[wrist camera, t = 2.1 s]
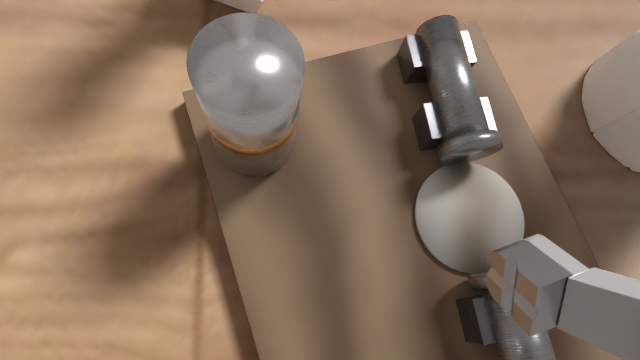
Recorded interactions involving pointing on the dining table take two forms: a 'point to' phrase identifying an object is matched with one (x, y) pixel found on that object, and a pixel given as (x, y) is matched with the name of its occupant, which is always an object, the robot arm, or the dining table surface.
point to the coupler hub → (248, 90)
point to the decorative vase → (616, 101)
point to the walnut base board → (382, 218)
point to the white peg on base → (244, 4)
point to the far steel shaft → (448, 93)
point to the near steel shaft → (499, 326)
